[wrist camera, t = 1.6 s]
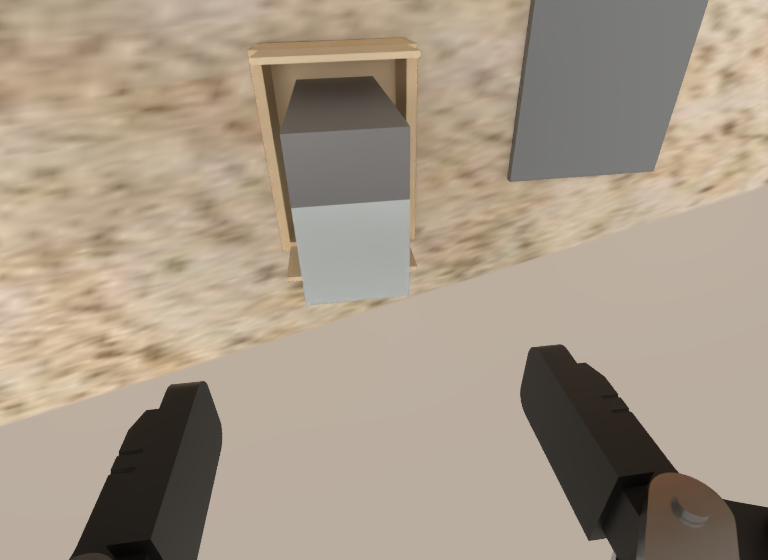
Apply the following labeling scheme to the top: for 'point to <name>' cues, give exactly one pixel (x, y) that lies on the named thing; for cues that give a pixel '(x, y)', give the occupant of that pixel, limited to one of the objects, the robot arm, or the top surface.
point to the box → (348, 189)
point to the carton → (327, 60)
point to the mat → (599, 85)
